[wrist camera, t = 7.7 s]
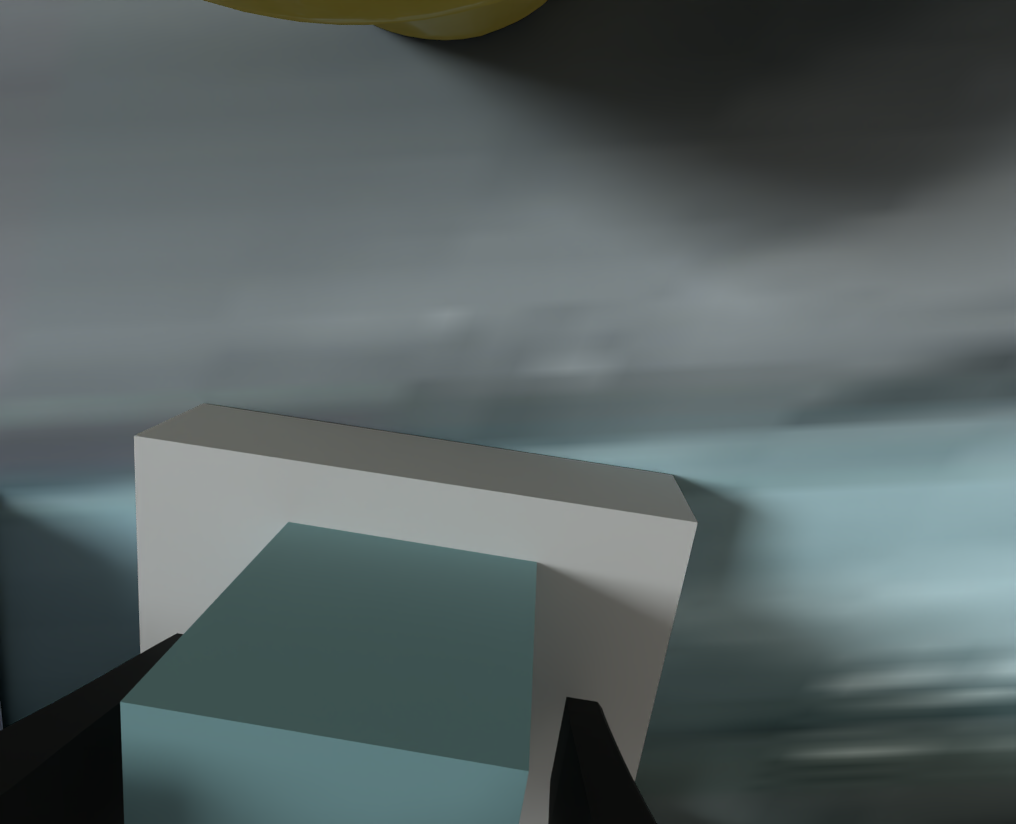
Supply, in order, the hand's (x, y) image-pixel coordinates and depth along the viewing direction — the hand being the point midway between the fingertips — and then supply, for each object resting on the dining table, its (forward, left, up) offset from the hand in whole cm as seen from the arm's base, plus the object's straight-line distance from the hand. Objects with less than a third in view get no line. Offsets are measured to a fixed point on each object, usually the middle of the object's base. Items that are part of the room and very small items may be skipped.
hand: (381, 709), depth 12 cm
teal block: (-1, 0, -1) cm, 1 cm away
